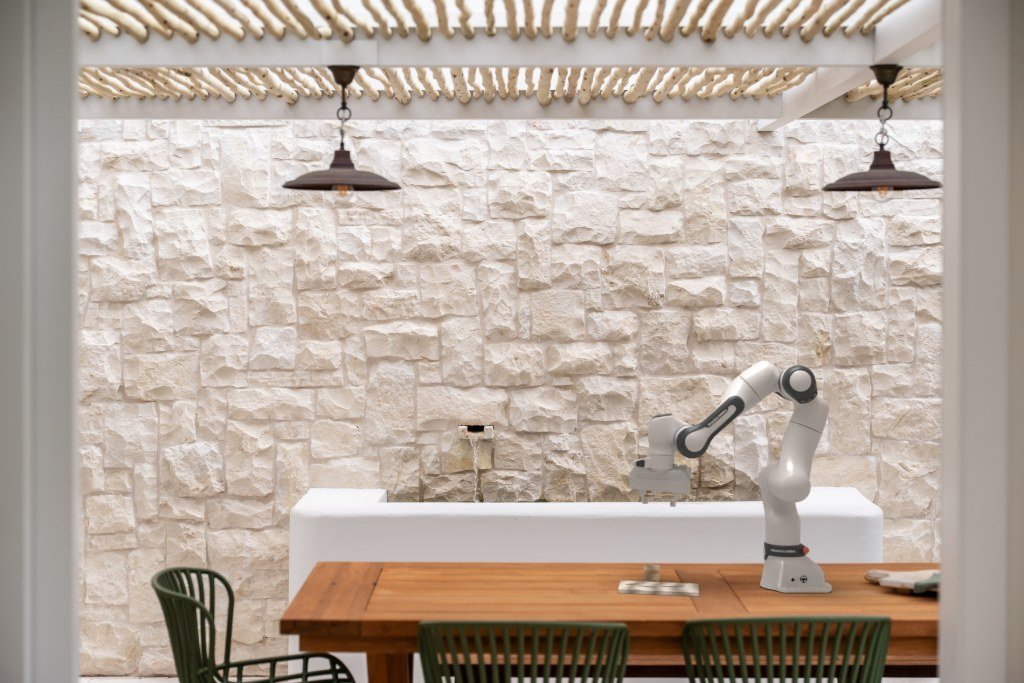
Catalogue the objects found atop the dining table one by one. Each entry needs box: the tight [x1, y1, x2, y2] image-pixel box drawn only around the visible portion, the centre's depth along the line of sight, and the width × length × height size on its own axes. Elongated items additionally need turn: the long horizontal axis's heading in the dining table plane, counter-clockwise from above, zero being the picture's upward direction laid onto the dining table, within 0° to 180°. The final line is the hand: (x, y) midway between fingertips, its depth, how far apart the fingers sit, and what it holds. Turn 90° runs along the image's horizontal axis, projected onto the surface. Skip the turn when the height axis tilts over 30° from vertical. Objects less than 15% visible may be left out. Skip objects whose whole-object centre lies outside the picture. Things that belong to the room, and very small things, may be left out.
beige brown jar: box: [643, 564, 660, 582], centre depth 364 cm, size 5×9×5 cm, turn 173°
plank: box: [617, 579, 700, 597], centre depth 352 cm, size 25×13×1 cm, turn 82°
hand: (658, 505), depth 364 cm, fingers open, 8 cm apart
